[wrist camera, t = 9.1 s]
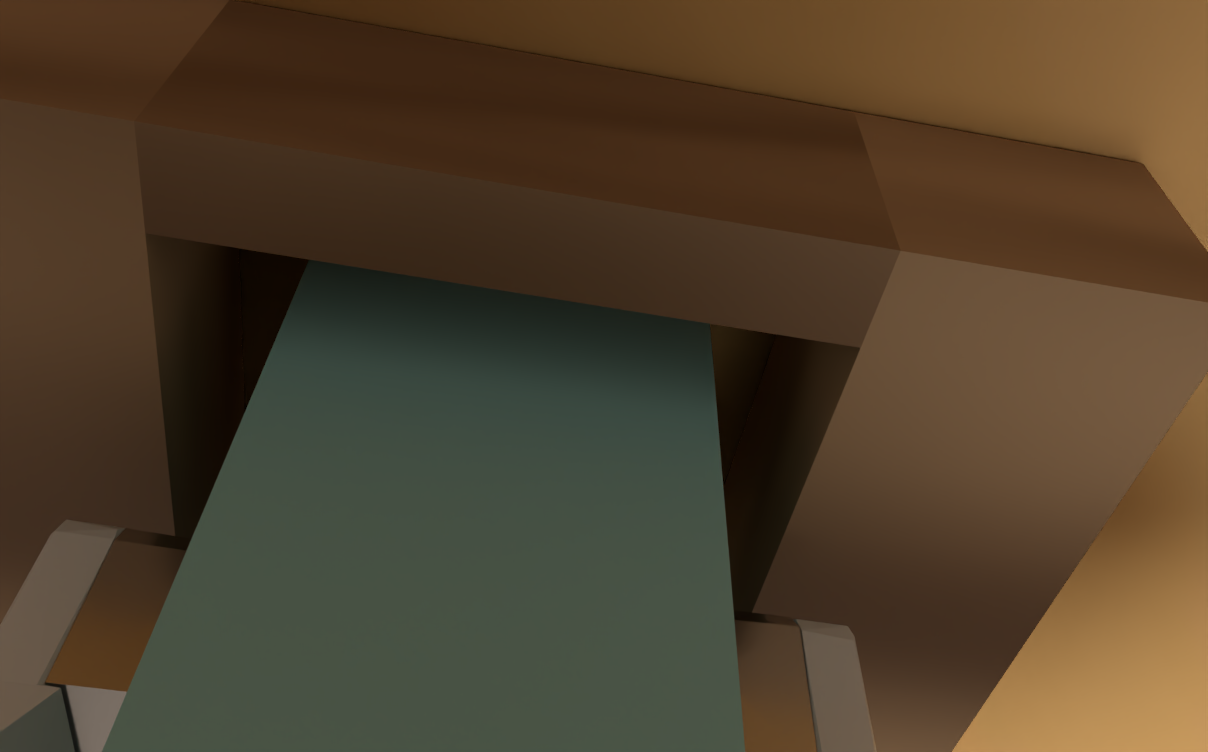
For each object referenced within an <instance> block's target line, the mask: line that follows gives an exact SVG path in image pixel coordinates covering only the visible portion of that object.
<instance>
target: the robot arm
mask: <svg viewBox="0 0 1208 752" xmlns="http://www.w3.org/2000/svg"><path fill="white" fill-rule="evenodd" d="M190 541H191V538H185V537H179V536H172V535H166V534H160V533H154V532H148V531H141V530H135V529H129V528H121V527H114V526H107V525H101V524H94V523H87V522H80V521H73V520H65V521H64V522H63V523H62V524H61V525H60V526H59V527H58V528H57V529H56V530H55V531H54V532H53V533H52V534H51V535H50V537H49V538H48V540H47V542H46V544H45V546H44V547H43V549H42V551H41V553H40V555H39V556H38V558H37V560H36V562H35V563H34V565H33V567H32V569H31V571H30V572H29V574H28V576H27V578H26V580H25V581H24V583H23V585H22V587H21V589H20V590H19V592H18V594H17V596H16V597H15V599H14V601H13V603H12V605H11V606H10V608H9V610H8V612H7V614H6V615H5V617H4V619H3V621H2V623H1V624H0V752H102V750H103V748H104V746H105V743H106V741H107V738H108V736H109V734H110V731H111V729H112V727H113V724H114V722H115V719H116V717H117V715H118V712H119V710H120V708H121V705H122V703H123V700H124V698H125V696H126V693H127V691H128V689H129V686H130V684H131V681H132V679H133V677H134V674H135V672H136V670H137V667H138V665H139V662H140V660H141V658H142V655H143V653H144V651H145V648H146V646H147V643H148V641H149V639H150V636H151V634H152V632H153V629H154V627H155V624H156V622H157V620H158V617H159V615H160V613H161V610H162V608H163V605H164V603H165V601H166V598H167V596H168V594H169V591H170V589H171V586H172V584H173V582H174V579H175V577H176V575H177V572H178V570H179V567H180V565H181V563H182V560H183V558H184V556H185V553H186V551H187V548H188V546H189V544H190ZM734 622H735V634H736V646H737V658H738V670H739V682H740V695H741V707H742V719H743V731H744V743H745V752H877V751H876V746H875V741H874V735H873V730H872V725H871V720H870V715H869V709H868V704H867V699H866V694H865V689H864V683H863V678H862V673H861V668H860V663H859V657H858V652H857V647H856V642H855V637H854V635H853V633H852V632H851V630H850V629H849V627H848V626H844V625H836V624H829V623H822V622H814V621H807V620H799V619H792V618H791V617H785V616H777V615H768V614H760V613H752V612H744V611H735V610H734Z"/></svg>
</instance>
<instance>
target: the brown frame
mask: <svg viewBox="0 0 1208 752" xmlns="http://www.w3.org/2000/svg"><path fill="white" fill-rule="evenodd" d="M239 248H240V249H246V250H253V251H259V252H265V253H271V254H278V255H284V256H290V257H296V258H303V259H309V260H315V261H321V262H328V263H334V264H340V265H346V266H353V267H359V268H365V269H371V270H378V271H384V272H390V273H396V274H403V275H409V276H415V277H421V278H428V279H434V280H440V281H446V282H453V283H459V284H465V285H471V286H478V287H484V288H490V289H496V290H502V291H509V292H515V293H521V294H527V295H534V296H540V297H546V298H552V299H559V300H565V301H571V302H577V303H584V304H590V305H596V306H602V307H609V308H615V309H621V310H627V311H634V312H640V313H646V314H652V315H659V316H665V317H671V318H677V319H684V320H690V321H696V322H702V323H709V324H715V325H721V326H727V327H734V328H740V329H746V330H752V331H759V332H765V333H771V334H777V335H776V338H775V341H774V344H773V347H772V349H771V352H770V355H769V358H768V361H767V364H766V367H765V370H764V372H763V375H762V378H761V381H760V384H759V387H758V390H757V393H756V396H755V398H754V401H753V404H752V407H751V410H750V413H749V416H748V419H747V421H746V424H745V427H744V430H743V433H742V436H741V439H740V442H739V445H738V447H737V450H736V453H735V456H734V459H733V462H732V465H731V468H730V470H729V473H728V476H727V479H726V482H725V485H724V488H723V489H724V501H725V513H726V525H727V537H728V549H729V561H730V574H731V586H732V598H733V610H735V611H744V612H752V613H760V614H768V615H777V616H785V617H791V618H792V619H799V620H807V621H814V622H822V623H829V624H836V625H844V626H848V627H849V629H850V630H851V632H852V633H853V635H854V637H855V642H856V647H857V652H858V657H859V663H860V668H861V673H862V678H863V683H864V689H865V694H866V699H867V704H868V709H869V715H870V720H871V725H872V730H873V735H874V741H875V746H876V751H877V752H952V750H953V749H954V747H955V746H956V744H957V743H958V741H959V740H960V738H961V737H962V735H963V734H964V732H965V731H966V730H967V728H968V727H969V725H970V724H971V722H972V721H973V719H974V718H975V716H976V715H977V713H978V712H979V710H980V709H981V707H982V706H983V704H984V703H985V701H986V700H987V698H988V697H989V695H990V694H991V692H992V691H993V689H994V688H995V687H996V685H997V684H998V682H999V681H1000V679H1001V678H1002V676H1003V675H1004V673H1005V672H1006V670H1007V669H1008V667H1009V666H1010V664H1011V663H1012V661H1013V660H1014V658H1015V657H1016V655H1017V654H1018V652H1019V651H1020V649H1021V648H1022V646H1023V645H1024V644H1025V642H1026V641H1027V639H1028V638H1029V636H1030V635H1031V633H1032V632H1033V630H1034V629H1035V627H1036V626H1037V624H1038V623H1039V621H1040V620H1041V618H1042V617H1043V615H1044V614H1045V612H1046V611H1047V609H1048V608H1049V606H1050V605H1051V603H1052V602H1053V601H1054V599H1055V598H1056V596H1057V595H1058V593H1059V592H1060V590H1061V589H1062V587H1063V586H1064V584H1065V583H1066V581H1067V580H1068V578H1069V577H1070V575H1071V574H1072V572H1073V571H1074V569H1075V568H1076V566H1077V565H1078V563H1079V562H1080V560H1081V559H1082V558H1083V556H1084V555H1085V553H1086V552H1087V550H1088V549H1089V547H1090V546H1091V544H1092V543H1093V541H1094V540H1095V538H1096V537H1097V535H1098V534H1099V532H1100V531H1101V529H1102V528H1103V526H1104V525H1105V523H1106V522H1107V520H1108V519H1109V517H1110V516H1111V515H1112V513H1113V512H1114V510H1115V509H1116V507H1117V506H1118V504H1119V503H1120V501H1121V500H1122V498H1123V497H1124V495H1125V494H1126V492H1127V491H1128V489H1129V488H1130V486H1131V485H1132V483H1133V482H1134V480H1135V479H1136V477H1137V476H1138V474H1139V473H1140V472H1141V470H1142V469H1143V467H1144V466H1145V464H1146V463H1147V461H1148V460H1149V458H1150V457H1151V455H1152V454H1153V452H1154V451H1155V449H1156V448H1157V446H1158V445H1159V443H1160V442H1161V440H1162V439H1163V437H1164V436H1165V434H1166V433H1167V432H1168V430H1169V429H1170V427H1171V426H1172V424H1173V423H1174V421H1175V420H1176V418H1177V417H1178V415H1179V414H1180V412H1181V411H1182V409H1183V408H1184V406H1185V405H1186V403H1187V402H1188V400H1189V399H1190V397H1191V396H1192V394H1193V393H1194V391H1195V390H1196V389H1197V387H1198V386H1199V384H1200V383H1201V381H1202V380H1203V378H1204V377H1205V375H1206V374H1207V372H1208V252H1207V251H1206V249H1205V248H1204V247H1203V245H1202V244H1201V243H1200V241H1199V240H1198V238H1197V237H1196V236H1195V234H1194V233H1193V232H1192V230H1191V229H1190V227H1189V226H1188V225H1187V223H1186V222H1185V221H1184V219H1183V218H1182V217H1181V215H1180V214H1179V212H1178V211H1177V210H1176V208H1175V207H1174V206H1173V204H1172V203H1171V202H1170V200H1169V199H1168V197H1167V196H1166V195H1165V193H1164V192H1163V191H1162V189H1161V188H1160V186H1159V185H1158V184H1157V182H1156V181H1155V180H1154V178H1153V177H1152V176H1151V174H1150V173H1149V171H1148V170H1147V169H1146V167H1145V166H1144V165H1143V164H1141V163H1135V162H1130V161H1124V160H1119V159H1113V158H1108V157H1102V156H1097V155H1091V154H1085V153H1080V152H1074V151H1069V150H1063V149H1058V148H1052V147H1047V146H1041V145H1035V144H1030V143H1024V142H1019V141H1013V140H1008V139H1002V138H997V137H991V136H985V135H980V134H974V133H969V132H963V131H958V130H952V129H947V128H941V127H935V126H930V125H924V124H919V123H913V122H908V121H902V120H897V119H891V118H885V117H880V116H874V115H869V114H863V113H858V112H852V111H847V110H841V109H836V108H830V107H824V106H819V105H813V104H808V103H802V102H797V101H791V100H786V99H780V98H774V97H769V96H763V95H758V94H752V93H747V92H741V91H736V90H730V89H724V88H719V87H713V86H708V85H702V84H697V83H691V82H686V81H680V80H675V79H669V78H663V77H658V76H652V75H647V74H641V73H636V72H630V71H625V70H619V69H613V68H608V67H602V66H597V65H591V64H586V63H580V62H575V61H569V60H563V59H558V58H552V57H547V56H541V55H536V54H530V53H525V52H519V51H513V50H508V49H502V48H497V47H491V46H486V45H480V44H475V43H469V42H463V41H458V40H452V39H447V38H441V37H436V36H430V35H425V34H419V33H414V32H408V31H402V30H397V29H391V28H386V27H380V26H375V25H369V24H364V23H358V22H352V21H347V20H341V19H336V18H330V17H325V16H319V15H314V14H308V13H302V12H297V11H291V10H286V9H280V8H275V7H269V6H264V5H258V4H252V3H247V2H241V1H236V0H0V624H1V623H2V621H3V619H4V617H5V615H6V614H7V612H8V610H9V608H10V606H11V605H12V603H13V601H14V599H15V597H16V596H17V594H18V592H19V590H20V589H21V587H22V585H23V583H24V581H25V580H26V578H27V576H28V574H29V572H30V571H31V569H32V567H33V565H34V563H35V562H36V560H37V558H38V556H39V555H40V553H41V551H42V549H43V547H44V546H45V544H46V542H47V540H48V538H49V537H50V535H51V534H52V533H53V532H54V531H55V530H56V529H57V528H58V527H59V526H60V525H61V524H62V523H63V522H64V521H65V520H73V521H80V522H87V523H94V524H101V525H107V526H114V527H121V528H129V529H135V530H141V531H148V532H154V533H160V534H166V535H172V536H179V537H185V538H191V539H192V537H193V534H194V532H195V529H196V527H197V525H198V522H199V520H200V518H201V515H202V513H203V510H204V508H205V506H206V503H207V501H208V499H209V496H210V494H211V491H212V489H213V487H214V484H215V482H216V480H217V477H218V475H219V472H220V470H221V468H222V465H223V463H224V461H225V458H226V456H227V453H228V451H229V449H230V446H231V444H232V442H233V439H234V437H235V434H236V432H237V430H238V427H239V425H240V423H241V420H242V418H243V415H244V413H245V398H244V371H243V344H242V317H241V289H240V262H239Z"/></svg>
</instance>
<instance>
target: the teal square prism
mask: <svg viewBox="0 0 1208 752" xmlns="http://www.w3.org/2000/svg"><path fill="white" fill-rule="evenodd" d="M102 752H745V743H744V731H743V719H742V707H741V695H740V682H739V670H738V658H737V646H736V634H735V622H734V610H733V598H732V586H731V574H730V561H729V549H728V537H727V525H726V513H725V501H724V489H723V477H722V465H721V453H720V440H719V428H718V416H717V404H716V392H715V380H714V368H713V356H712V344H711V332H710V324H709V323H702V322H696V321H690V320H684V319H677V318H671V317H665V316H659V315H652V314H646V313H640V312H634V311H627V310H621V309H615V308H609V307H602V306H596V305H590V304H584V303H577V302H571V301H565V300H559V299H552V298H546V297H540V296H534V295H527V294H521V293H515V292H509V291H502V290H496V289H490V288H484V287H478V286H471V285H465V284H459V283H453V282H446V281H440V280H434V279H428V278H421V277H415V276H409V275H403V274H396V273H390V272H384V271H378V270H371V269H365V268H359V267H353V266H346V265H340V264H334V263H328V262H321V261H315V260H309V261H308V263H307V266H306V268H305V271H304V273H303V275H302V278H301V280H300V282H299V285H298V287H297V290H296V292H295V294H294V297H293V299H292V301H291V304H290V306H289V309H288V311H287V313H286V316H285V318H284V320H283V323H282V325H281V328H280V330H279V332H278V335H277V337H276V339H275V342H274V344H273V347H272V349H271V351H270V354H269V356H268V358H267V361H266V363H265V366H264V368H263V370H262V373H261V375H260V377H259V380H258V382H257V385H256V387H255V389H254V392H253V394H252V396H251V399H250V401H249V404H248V406H247V408H246V411H245V413H244V415H243V418H242V420H241V423H240V425H239V427H238V430H237V432H236V434H235V437H234V439H233V442H232V444H231V446H230V449H229V451H228V453H227V456H226V458H225V461H224V463H223V465H222V468H221V470H220V472H219V475H218V477H217V480H216V482H215V484H214V487H213V489H212V491H211V494H210V496H209V499H208V501H207V503H206V506H205V508H204V510H203V513H202V515H201V518H200V520H199V522H198V525H197V527H196V529H195V532H194V534H193V537H192V539H191V541H190V544H189V546H188V548H187V551H186V553H185V556H184V558H183V560H182V563H181V565H180V567H179V570H178V572H177V575H176V577H175V579H174V582H173V584H172V586H171V589H170V591H169V594H168V596H167V598H166V601H165V603H164V605H163V608H162V610H161V613H160V615H159V617H158V620H157V622H156V624H155V627H154V629H153V632H152V634H151V636H150V639H149V641H148V643H147V646H146V648H145V651H144V653H143V655H142V658H141V660H140V662H139V665H138V667H137V670H136V672H135V674H134V677H133V679H132V681H131V684H130V686H129V689H128V691H127V693H126V696H125V698H124V700H123V703H122V705H121V708H120V710H119V712H118V715H117V717H116V719H115V722H114V724H113V727H112V729H111V731H110V734H109V736H108V738H107V741H106V743H105V746H104V748H103V750H102Z"/></svg>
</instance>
